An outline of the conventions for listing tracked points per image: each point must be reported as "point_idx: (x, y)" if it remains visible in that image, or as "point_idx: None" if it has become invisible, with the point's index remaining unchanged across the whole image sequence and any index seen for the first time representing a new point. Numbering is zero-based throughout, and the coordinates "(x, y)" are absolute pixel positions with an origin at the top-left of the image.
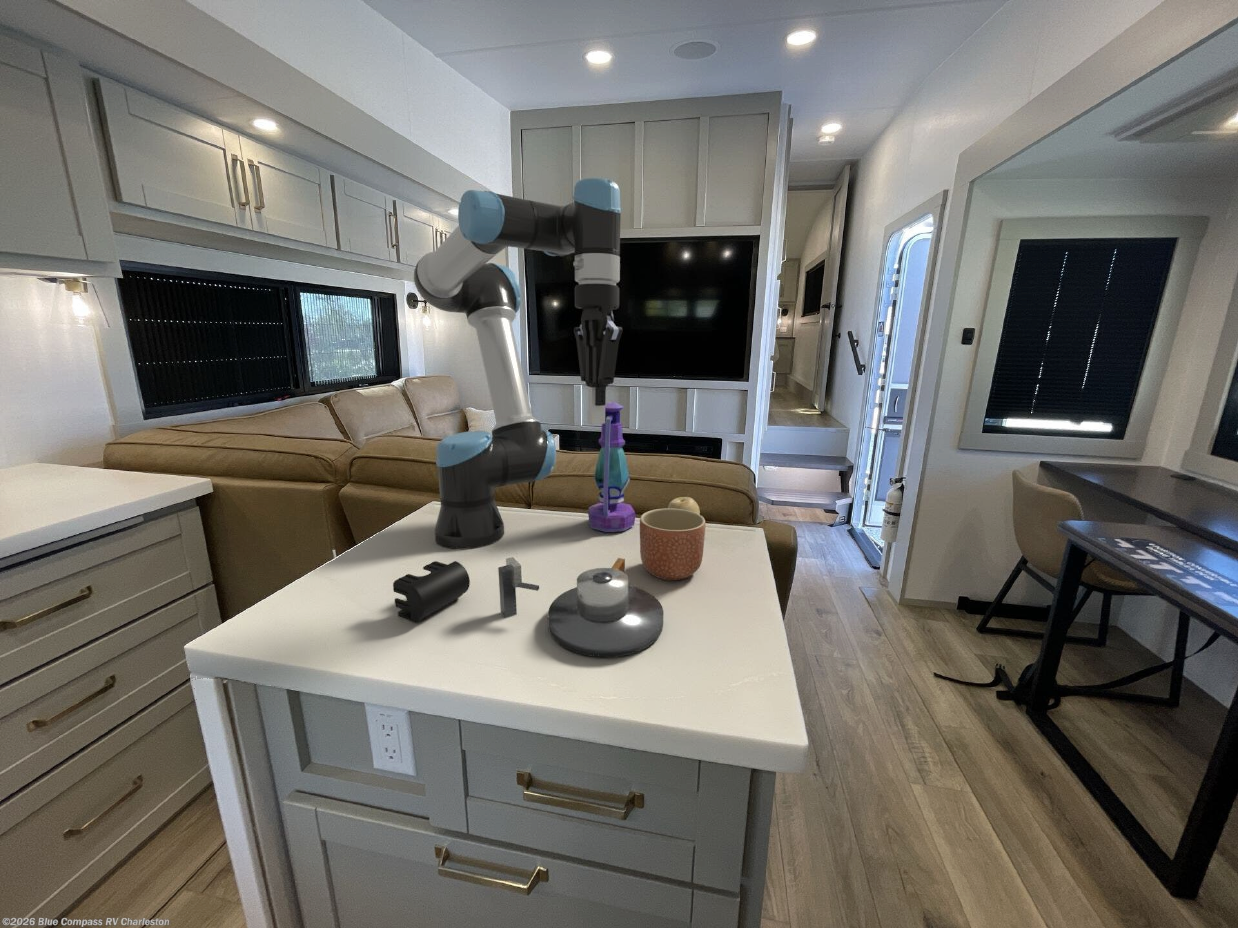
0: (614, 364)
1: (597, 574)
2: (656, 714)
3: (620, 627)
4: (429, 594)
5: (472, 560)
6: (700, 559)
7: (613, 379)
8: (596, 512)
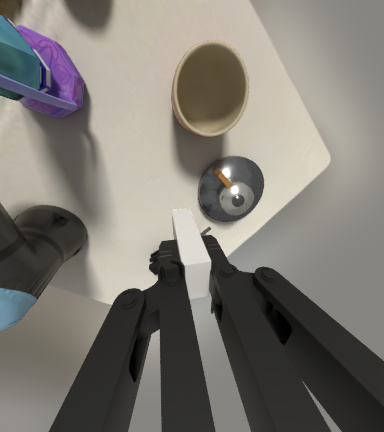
0: (349, 340)
1: (234, 202)
2: (287, 199)
3: None
4: None
5: (111, 236)
6: (230, 84)
7: (284, 278)
8: (55, 109)
